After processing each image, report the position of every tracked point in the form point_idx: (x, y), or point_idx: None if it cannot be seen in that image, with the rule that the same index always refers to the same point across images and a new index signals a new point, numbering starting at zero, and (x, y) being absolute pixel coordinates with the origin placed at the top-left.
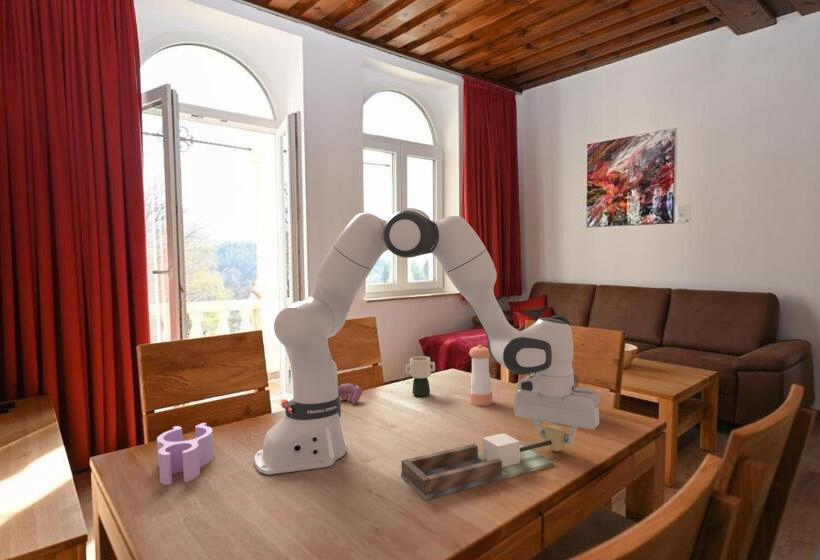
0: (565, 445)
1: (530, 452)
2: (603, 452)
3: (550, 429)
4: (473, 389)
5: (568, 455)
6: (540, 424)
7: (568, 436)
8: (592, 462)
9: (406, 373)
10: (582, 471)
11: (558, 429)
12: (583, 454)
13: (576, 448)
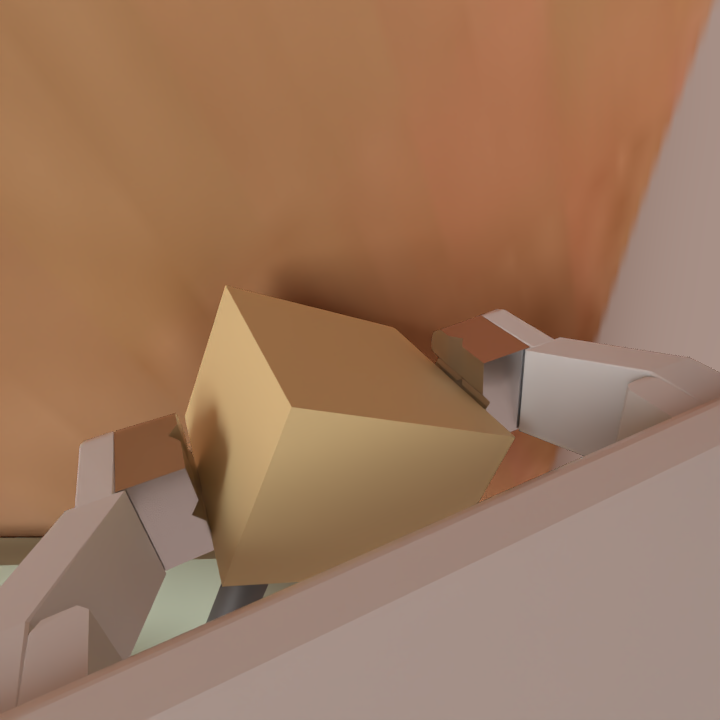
0: (409, 346)
1: (174, 592)
2: (643, 47)
3: (324, 550)
4: None
5: (411, 337)
6: (81, 603)
7: (523, 425)
8: (580, 316)
9: None
10: (546, 462)
11: (419, 467)
12: (506, 226)
13: (417, 124)
